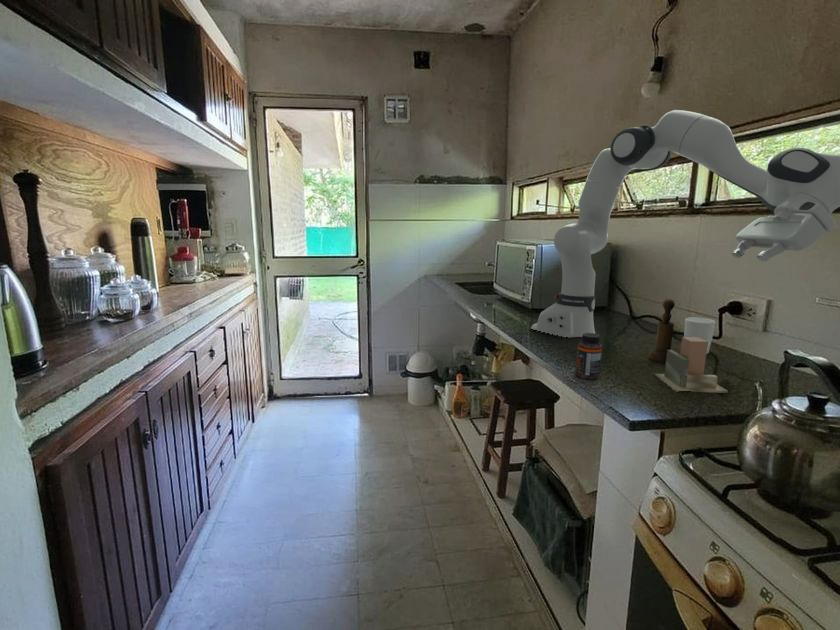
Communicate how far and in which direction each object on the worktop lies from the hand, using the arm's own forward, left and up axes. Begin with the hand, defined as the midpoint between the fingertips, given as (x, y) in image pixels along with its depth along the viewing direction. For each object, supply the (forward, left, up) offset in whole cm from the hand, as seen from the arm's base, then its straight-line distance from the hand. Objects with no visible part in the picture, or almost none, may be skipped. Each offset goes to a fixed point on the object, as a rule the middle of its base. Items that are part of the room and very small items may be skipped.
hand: (746, 257), depth 105 cm
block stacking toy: (-7, -8, -31) cm, 33 cm away
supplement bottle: (-29, -18, -32) cm, 47 cm away
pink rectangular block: (-8, -8, -31) cm, 33 cm away
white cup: (-9, +26, -32) cm, 42 cm away
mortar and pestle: (-16, +10, -32) cm, 37 cm away
